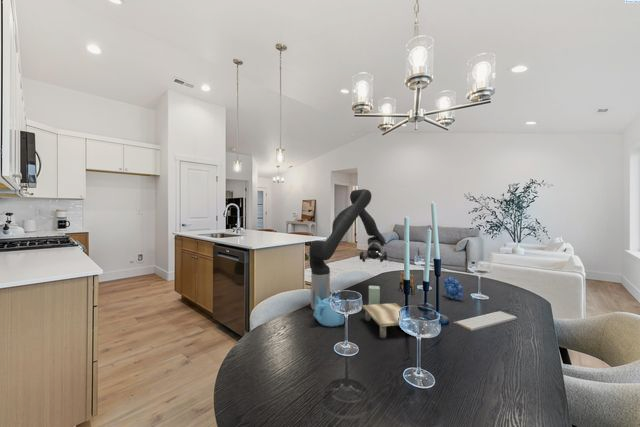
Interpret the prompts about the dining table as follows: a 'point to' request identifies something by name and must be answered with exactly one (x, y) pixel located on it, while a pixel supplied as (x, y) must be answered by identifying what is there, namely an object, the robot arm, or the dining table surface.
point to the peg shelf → (382, 315)
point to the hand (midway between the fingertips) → (372, 260)
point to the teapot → (327, 313)
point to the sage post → (374, 295)
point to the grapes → (453, 288)
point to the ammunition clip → (410, 282)
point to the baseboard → (485, 320)
